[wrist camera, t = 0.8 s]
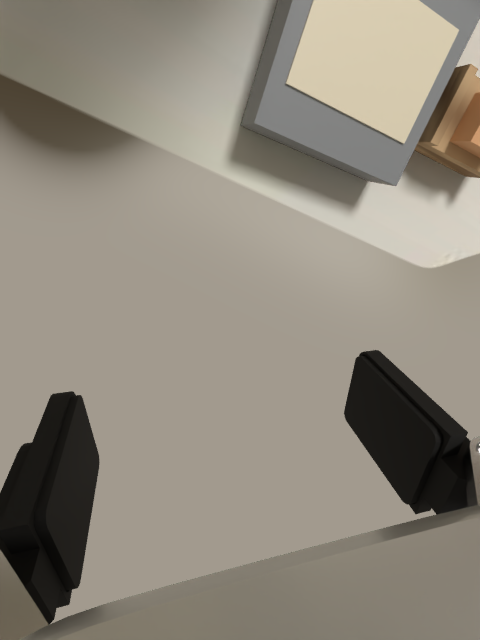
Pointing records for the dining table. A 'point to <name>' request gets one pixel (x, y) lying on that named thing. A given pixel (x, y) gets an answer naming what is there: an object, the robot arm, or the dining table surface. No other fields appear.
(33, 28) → the dining table surface
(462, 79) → the pallet
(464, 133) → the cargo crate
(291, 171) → the dining table surface
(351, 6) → the dock
